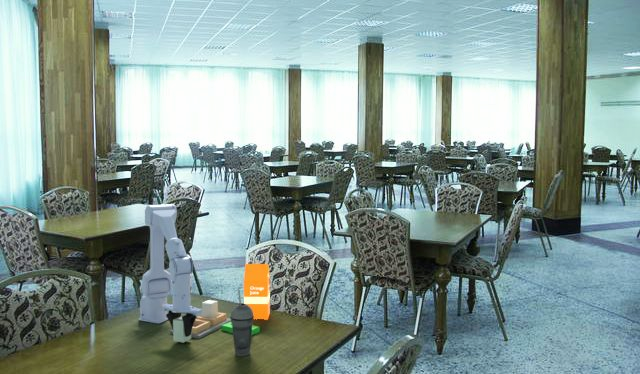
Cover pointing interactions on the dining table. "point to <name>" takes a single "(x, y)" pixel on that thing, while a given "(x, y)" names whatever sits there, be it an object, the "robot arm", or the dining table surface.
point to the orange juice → (257, 289)
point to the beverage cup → (242, 327)
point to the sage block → (179, 330)
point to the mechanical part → (229, 328)
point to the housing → (207, 325)
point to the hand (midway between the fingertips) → (182, 334)
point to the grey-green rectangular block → (210, 309)
